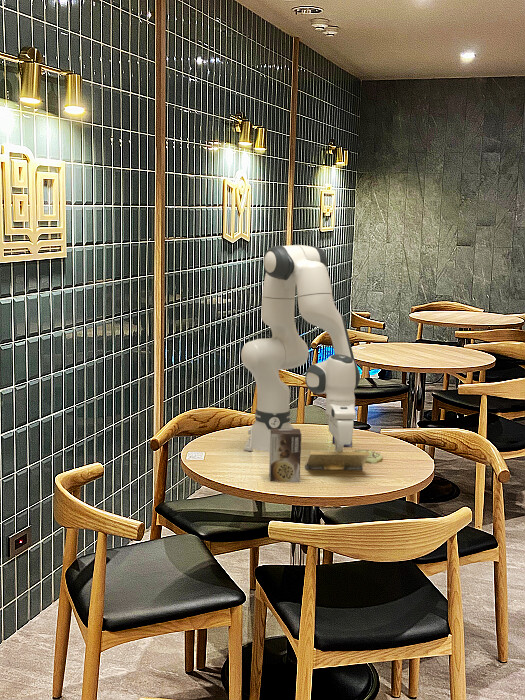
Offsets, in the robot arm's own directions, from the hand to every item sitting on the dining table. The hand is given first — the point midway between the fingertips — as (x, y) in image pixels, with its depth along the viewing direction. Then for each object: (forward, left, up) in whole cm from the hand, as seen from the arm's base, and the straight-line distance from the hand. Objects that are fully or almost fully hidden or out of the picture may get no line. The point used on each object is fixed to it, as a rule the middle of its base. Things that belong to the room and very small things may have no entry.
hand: (338, 452), depth 256 cm
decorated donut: (-17, +13, -8) cm, 23 cm away
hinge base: (0, 0, -8) cm, 8 cm away
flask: (-39, +9, -8) cm, 41 cm away
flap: (0, 0, -5) cm, 5 cm away
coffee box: (+6, -17, -8) cm, 20 cm away
